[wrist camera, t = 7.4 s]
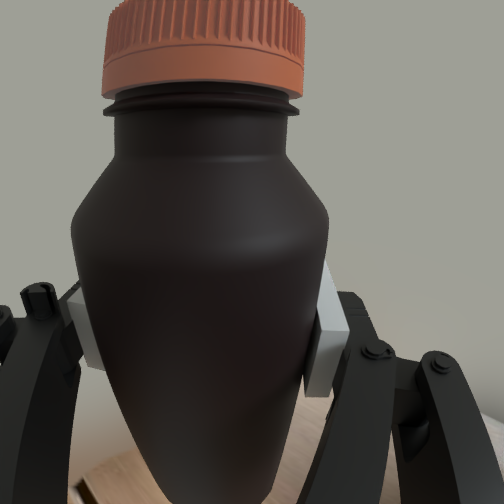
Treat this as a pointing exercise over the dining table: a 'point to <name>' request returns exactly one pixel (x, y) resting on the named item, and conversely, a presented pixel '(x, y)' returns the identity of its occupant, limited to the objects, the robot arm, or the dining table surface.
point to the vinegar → (203, 241)
